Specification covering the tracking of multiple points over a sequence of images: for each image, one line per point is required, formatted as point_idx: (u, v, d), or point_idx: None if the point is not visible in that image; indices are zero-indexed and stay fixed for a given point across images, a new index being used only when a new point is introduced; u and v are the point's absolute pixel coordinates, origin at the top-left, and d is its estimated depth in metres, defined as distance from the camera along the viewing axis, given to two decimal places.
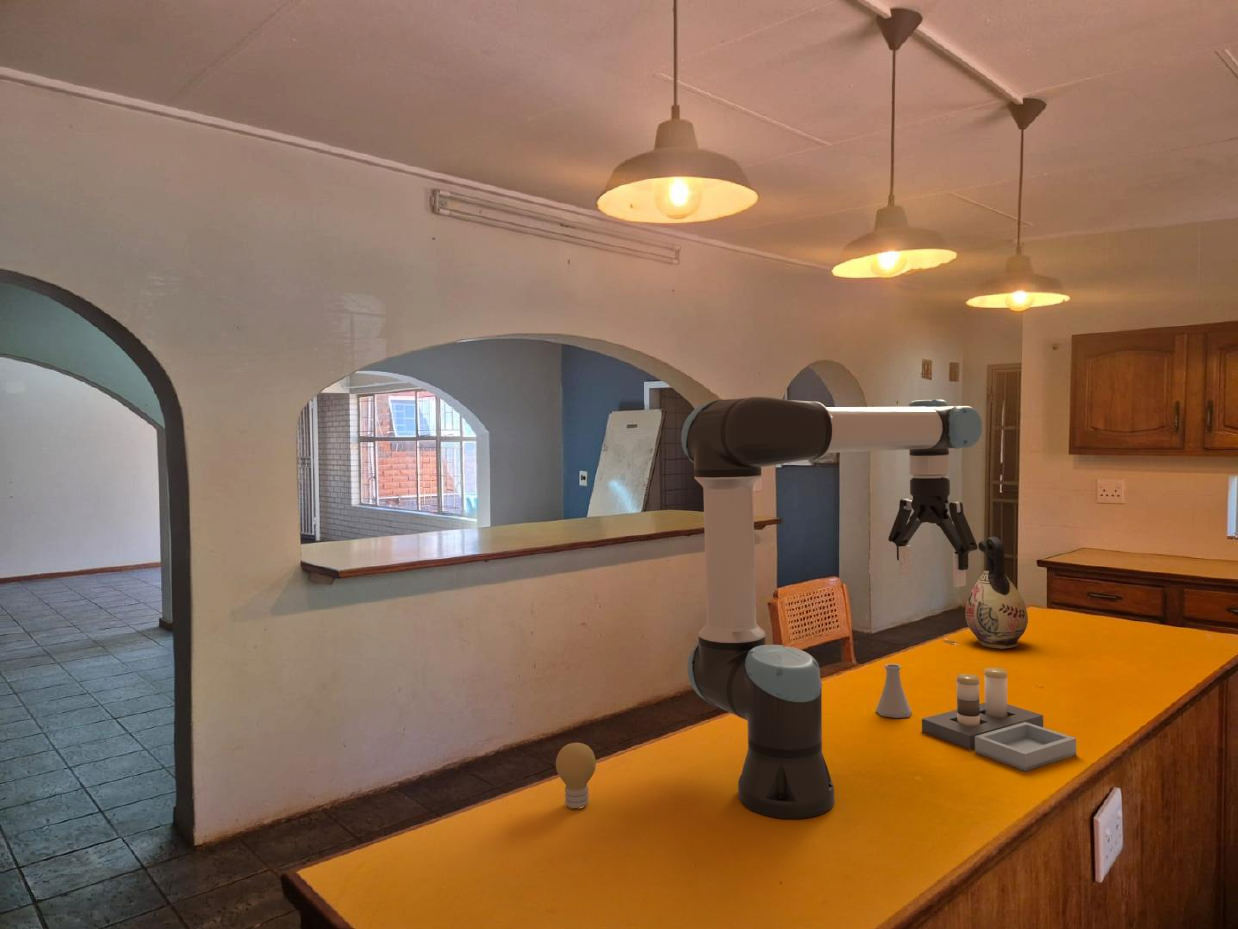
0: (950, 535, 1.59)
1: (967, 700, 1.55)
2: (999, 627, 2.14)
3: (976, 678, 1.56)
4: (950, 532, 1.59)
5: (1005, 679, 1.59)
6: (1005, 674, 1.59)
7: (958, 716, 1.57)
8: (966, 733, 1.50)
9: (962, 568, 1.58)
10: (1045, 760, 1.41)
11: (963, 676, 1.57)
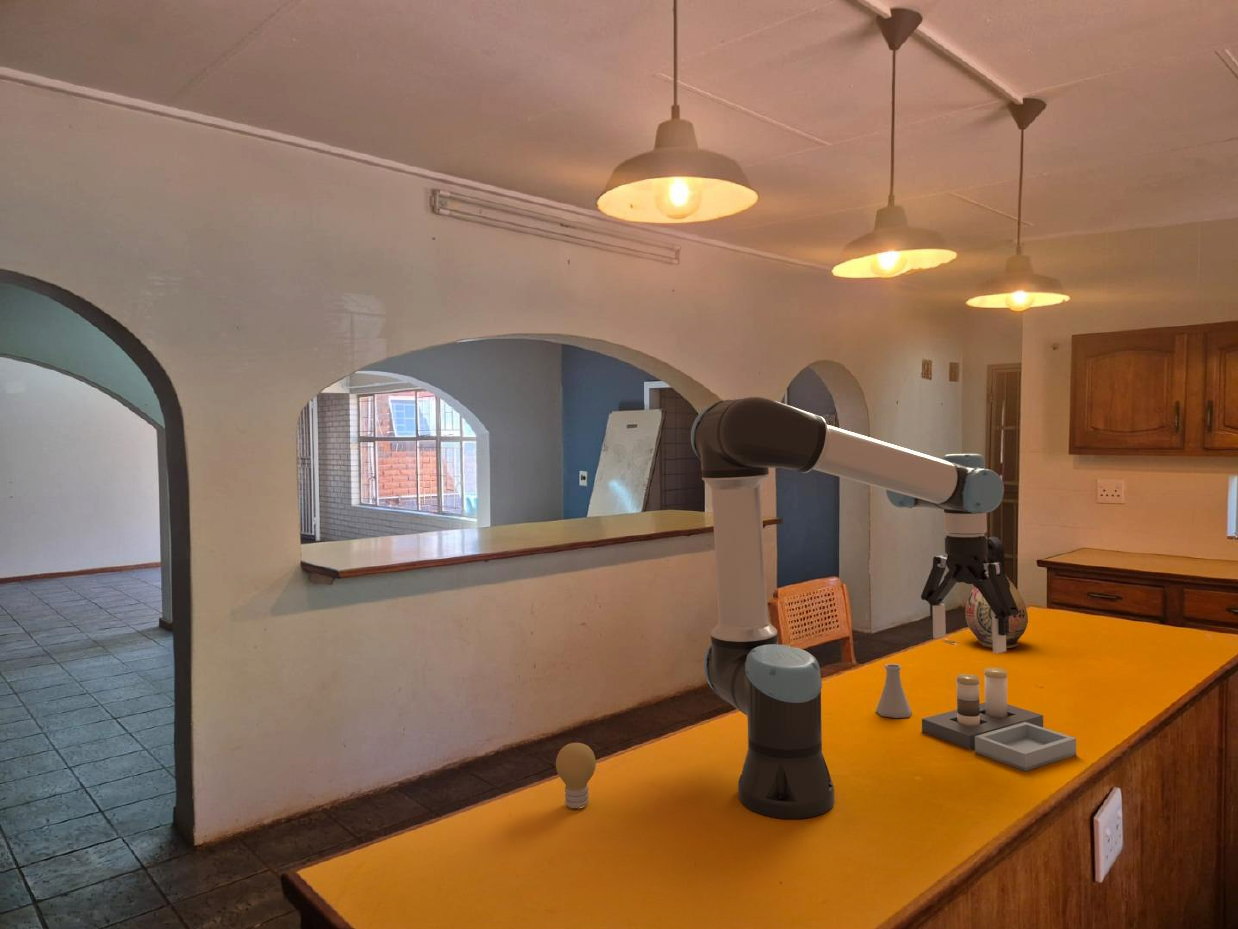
0: (989, 598, 1.51)
1: (967, 700, 1.55)
2: None
3: (976, 678, 1.56)
4: (989, 595, 1.51)
5: (1005, 679, 1.59)
6: (1005, 674, 1.59)
7: (958, 716, 1.57)
8: (966, 733, 1.50)
9: (1002, 633, 1.49)
10: (1045, 760, 1.41)
11: (963, 676, 1.57)
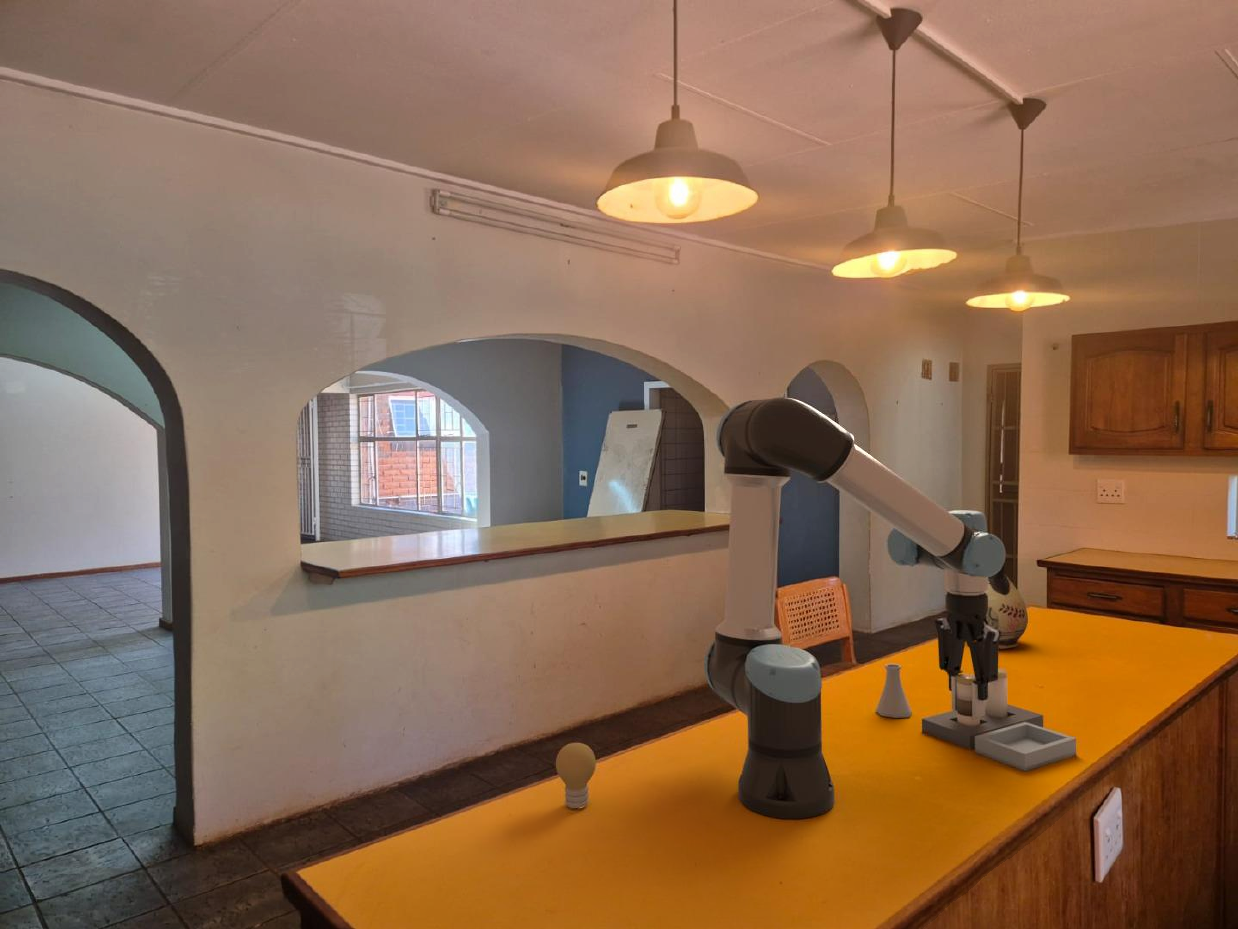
0: (976, 662, 1.54)
1: (967, 700, 1.55)
2: (999, 627, 2.14)
3: None
4: (977, 659, 1.54)
5: (1005, 679, 1.59)
6: (1005, 674, 1.59)
7: (958, 716, 1.57)
8: (966, 733, 1.50)
9: (982, 699, 1.53)
10: (1045, 760, 1.41)
11: (963, 676, 1.57)
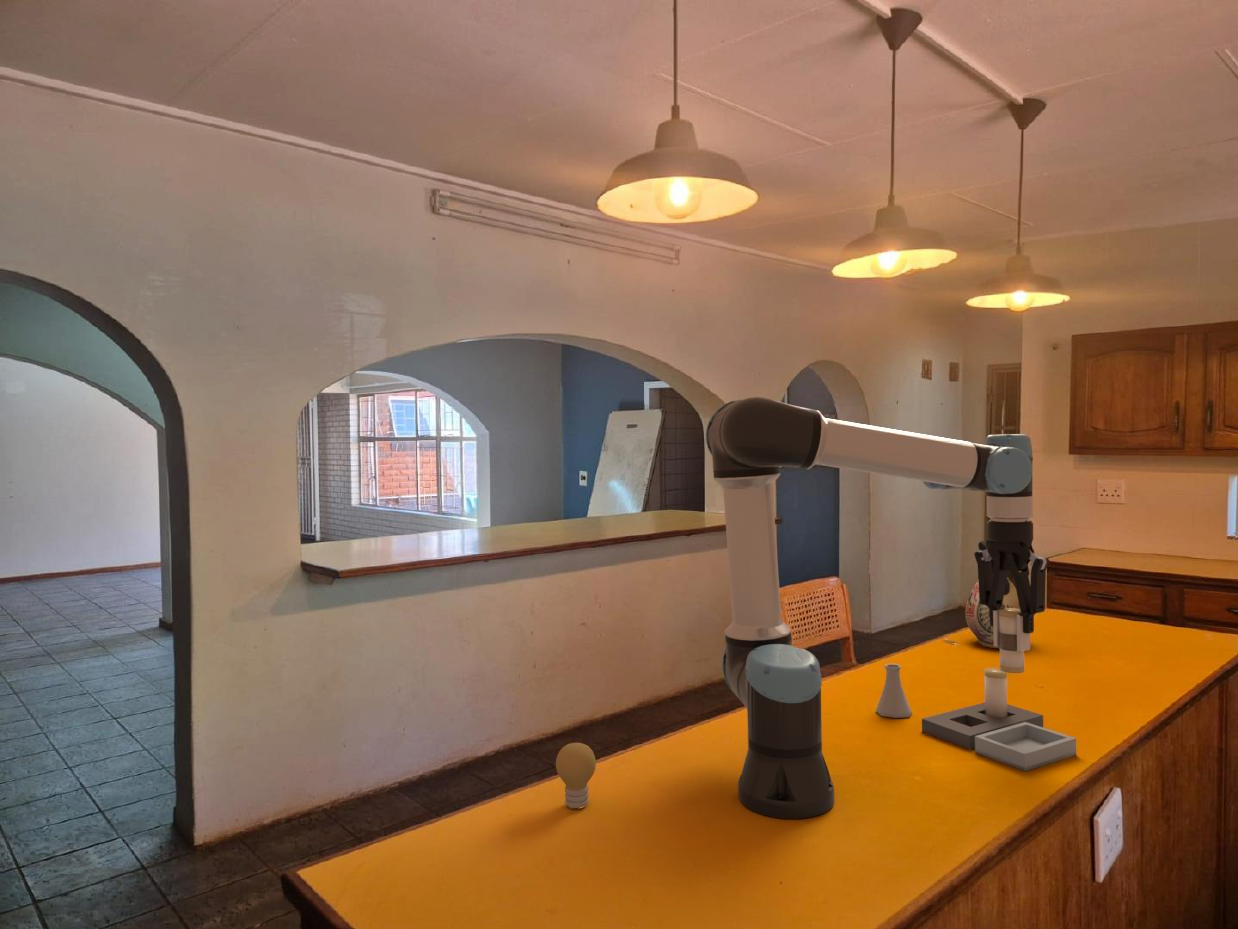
0: (1021, 593, 1.45)
1: (1011, 634, 1.47)
2: None
3: (1020, 611, 1.47)
4: (1023, 590, 1.45)
5: (1005, 679, 1.59)
6: (1005, 674, 1.59)
7: (1001, 651, 1.48)
8: (966, 733, 1.50)
9: (1027, 631, 1.45)
10: (1045, 760, 1.41)
11: (1006, 609, 1.49)
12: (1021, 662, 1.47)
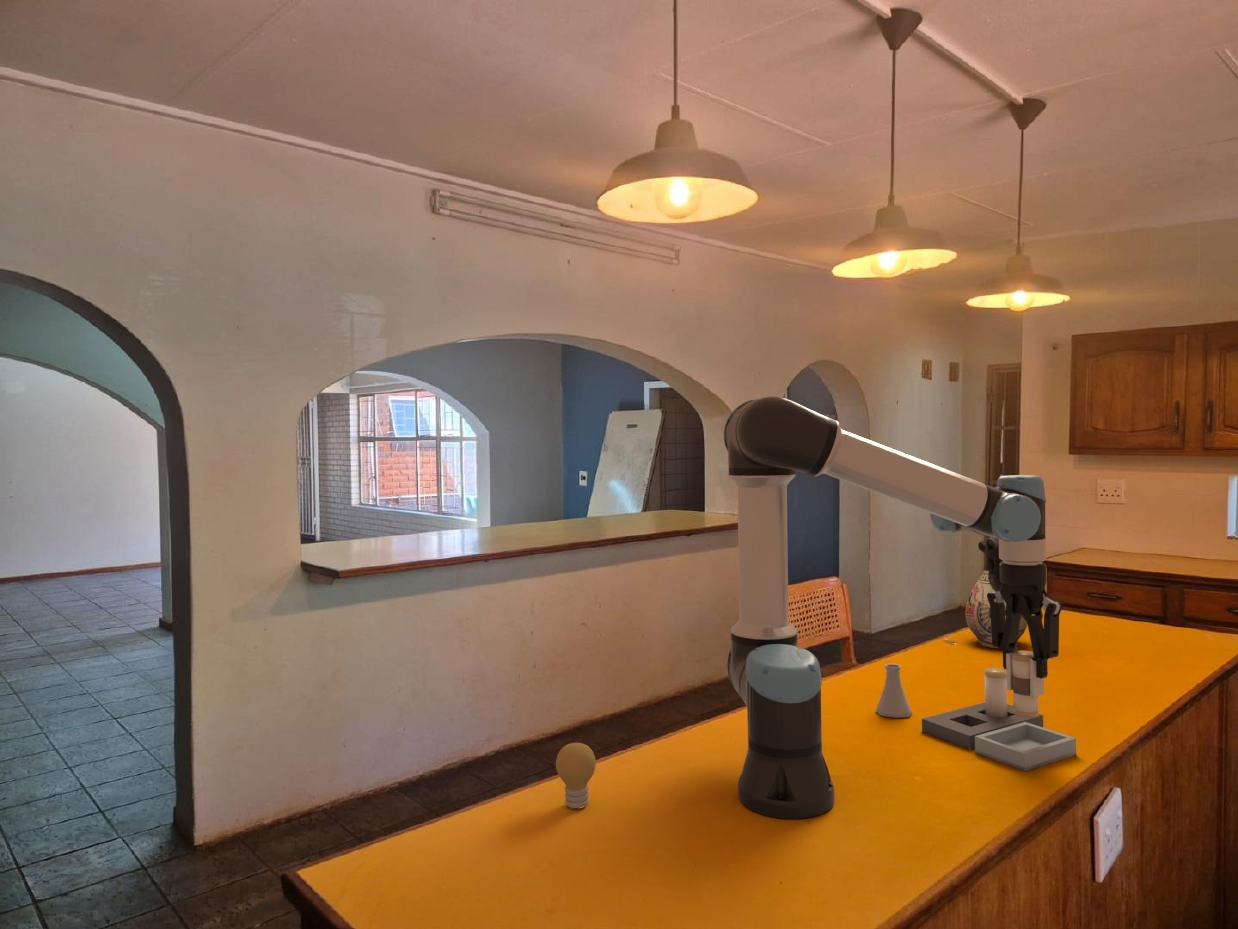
0: (1034, 637, 1.43)
1: (1024, 678, 1.44)
2: None
3: None
4: (1036, 634, 1.43)
5: (1005, 679, 1.59)
6: (1005, 674, 1.59)
7: (1014, 695, 1.46)
8: (966, 733, 1.50)
9: (1041, 676, 1.43)
10: (1045, 760, 1.41)
11: (1019, 652, 1.47)
12: (1035, 706, 1.45)
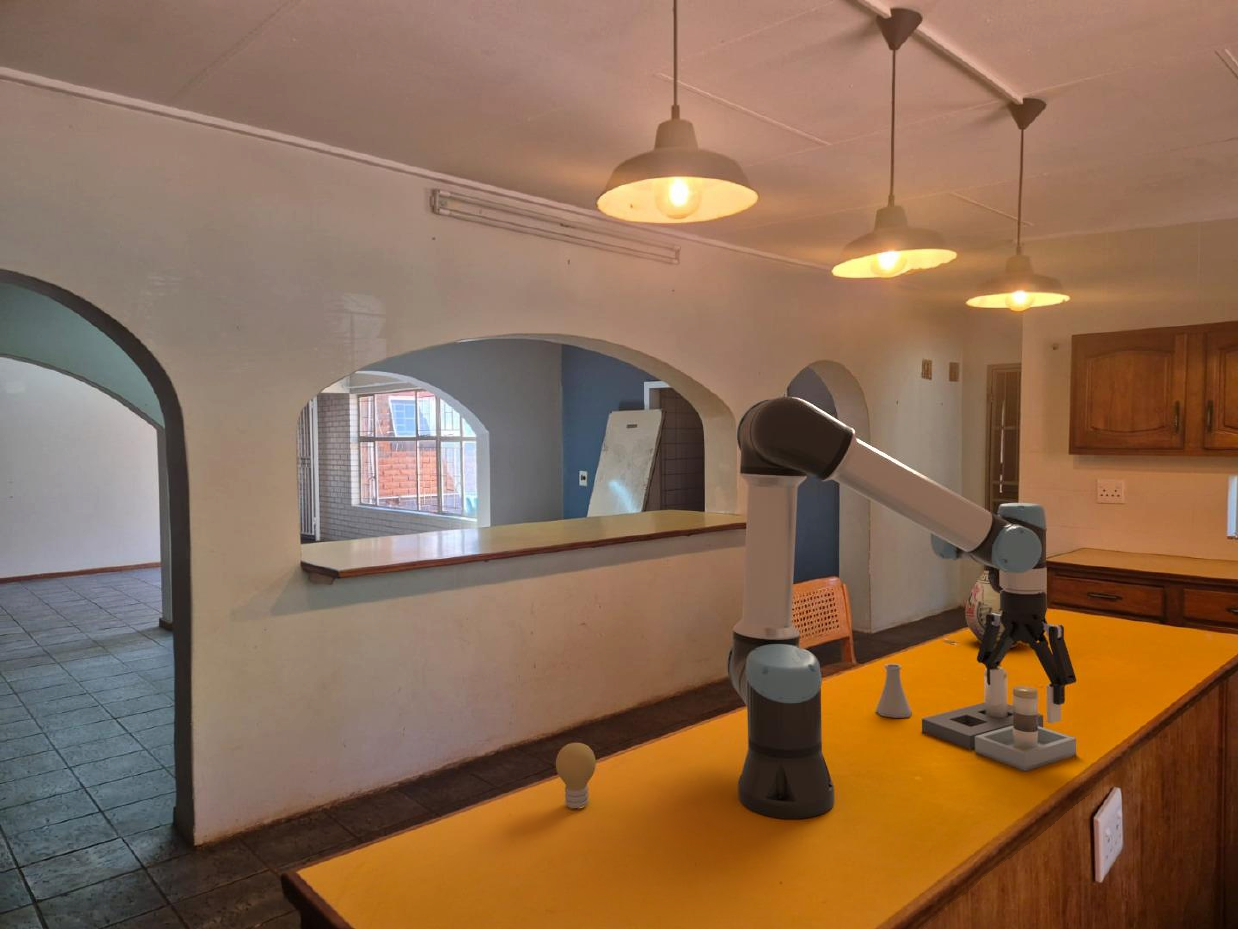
0: (1046, 663, 1.41)
1: (1024, 715, 1.45)
2: None
3: (1035, 691, 1.45)
4: (1046, 659, 1.41)
5: (1005, 679, 1.59)
6: (1005, 674, 1.59)
7: (1014, 731, 1.46)
8: (966, 733, 1.50)
9: (1058, 703, 1.40)
10: (1045, 760, 1.41)
11: (1020, 688, 1.47)
12: (1035, 743, 1.45)
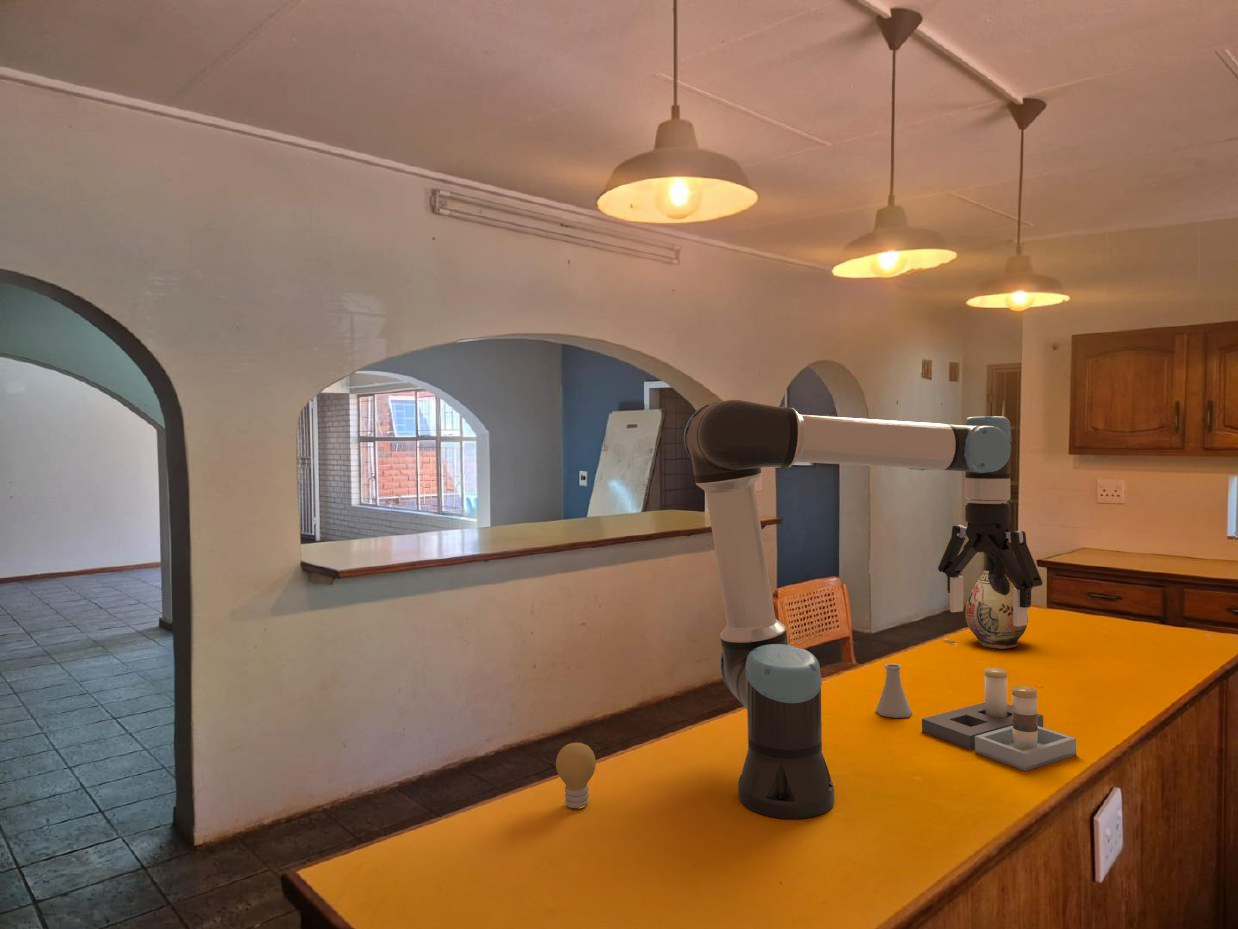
0: (1011, 568, 1.43)
1: (1024, 715, 1.45)
2: (999, 627, 2.14)
3: (1034, 691, 1.45)
4: (1011, 565, 1.43)
5: (1005, 679, 1.59)
6: (1005, 674, 1.59)
7: (1014, 731, 1.46)
8: (966, 733, 1.50)
9: (1024, 605, 1.41)
10: (1045, 760, 1.41)
11: (1019, 688, 1.47)
12: (1035, 743, 1.45)
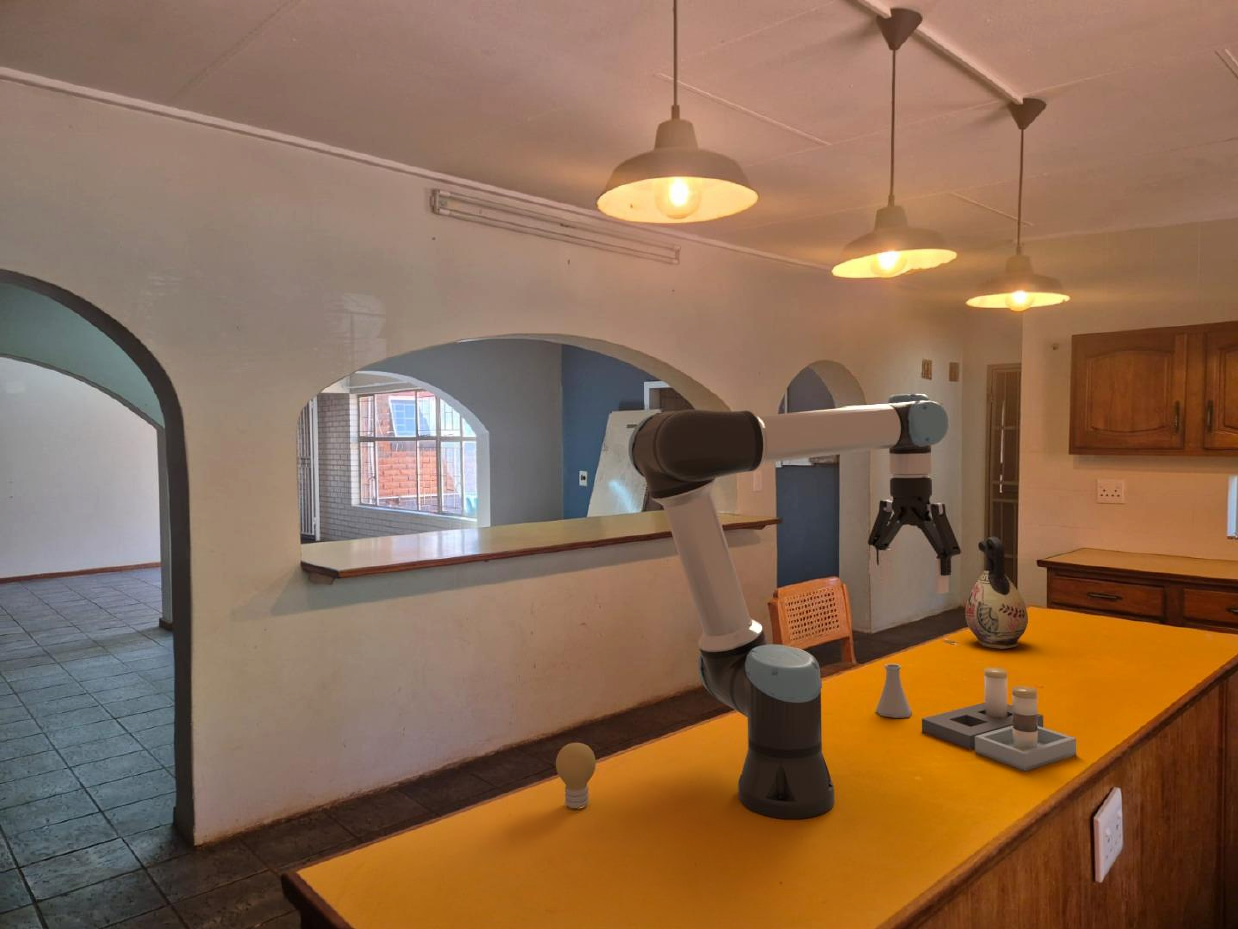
0: (932, 538, 1.49)
1: (1024, 715, 1.45)
2: (999, 627, 2.14)
3: (1034, 691, 1.45)
4: (932, 535, 1.49)
5: (1005, 679, 1.59)
6: (1005, 674, 1.59)
7: (1014, 732, 1.46)
8: (966, 733, 1.50)
9: (944, 574, 1.48)
10: (1045, 760, 1.41)
11: (1019, 688, 1.47)
12: (1035, 743, 1.45)
